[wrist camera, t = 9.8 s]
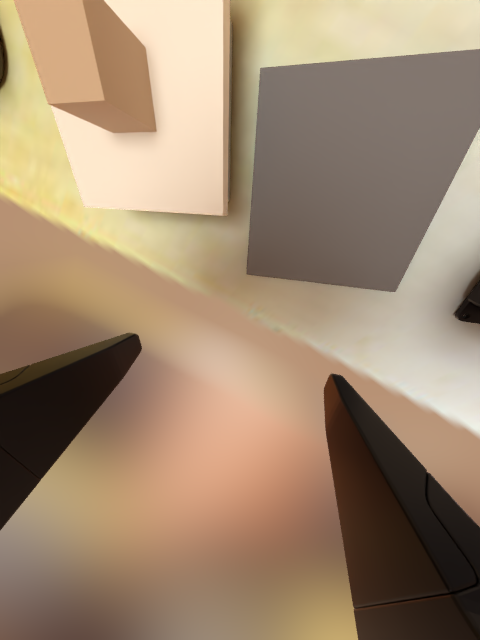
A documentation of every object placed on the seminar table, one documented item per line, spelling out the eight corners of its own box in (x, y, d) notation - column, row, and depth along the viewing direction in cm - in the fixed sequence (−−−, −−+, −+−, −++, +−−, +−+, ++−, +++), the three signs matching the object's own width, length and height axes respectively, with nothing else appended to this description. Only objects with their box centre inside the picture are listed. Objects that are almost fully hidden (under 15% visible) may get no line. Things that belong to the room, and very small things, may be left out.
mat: (511, 52, 10) (521, 45, 9) (392, 290, 16) (395, 292, 16) (261, 73, 12) (260, 68, 11) (247, 272, 18) (246, 274, 18)
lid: (231, -112, 7) (162, -479, 3) (227, 215, 13) (200, 216, 9) (17, -54, 9) (-177, -242, 5) (96, 207, 15) (28, 205, 11)
